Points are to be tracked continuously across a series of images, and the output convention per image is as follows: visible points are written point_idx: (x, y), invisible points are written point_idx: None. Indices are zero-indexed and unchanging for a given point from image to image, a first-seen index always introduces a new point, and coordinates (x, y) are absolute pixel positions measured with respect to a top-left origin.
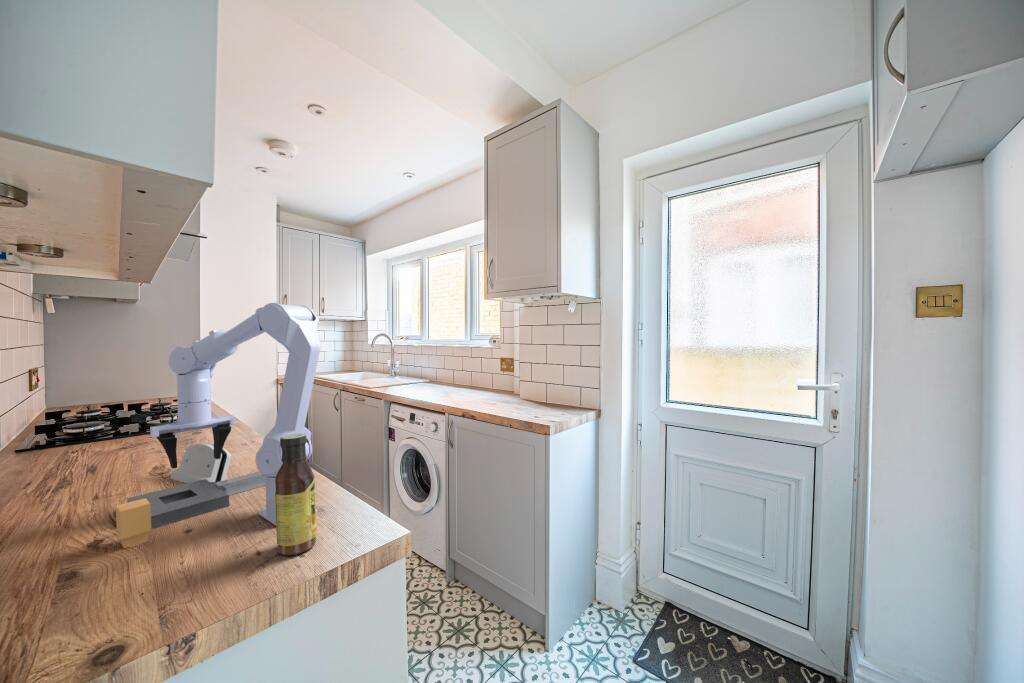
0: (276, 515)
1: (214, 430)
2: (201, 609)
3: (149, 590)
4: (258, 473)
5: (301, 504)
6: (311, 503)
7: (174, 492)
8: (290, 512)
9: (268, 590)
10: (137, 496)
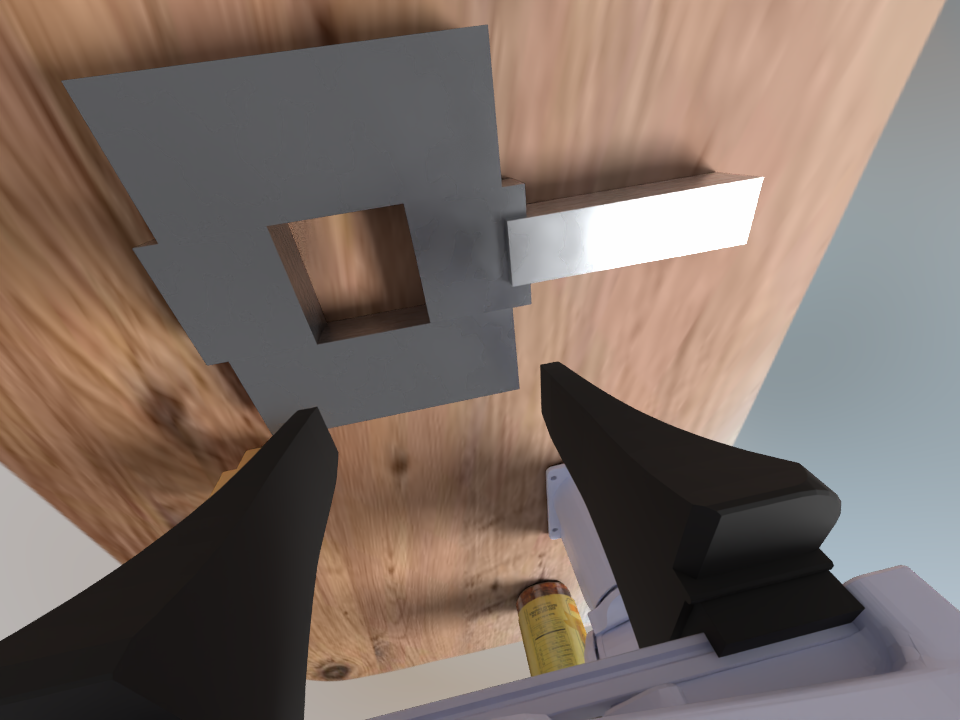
0: (532, 674)
1: (658, 551)
2: (414, 649)
3: (353, 610)
4: (691, 221)
5: None
6: None
7: (332, 193)
8: None
9: (479, 644)
10: (125, 97)
